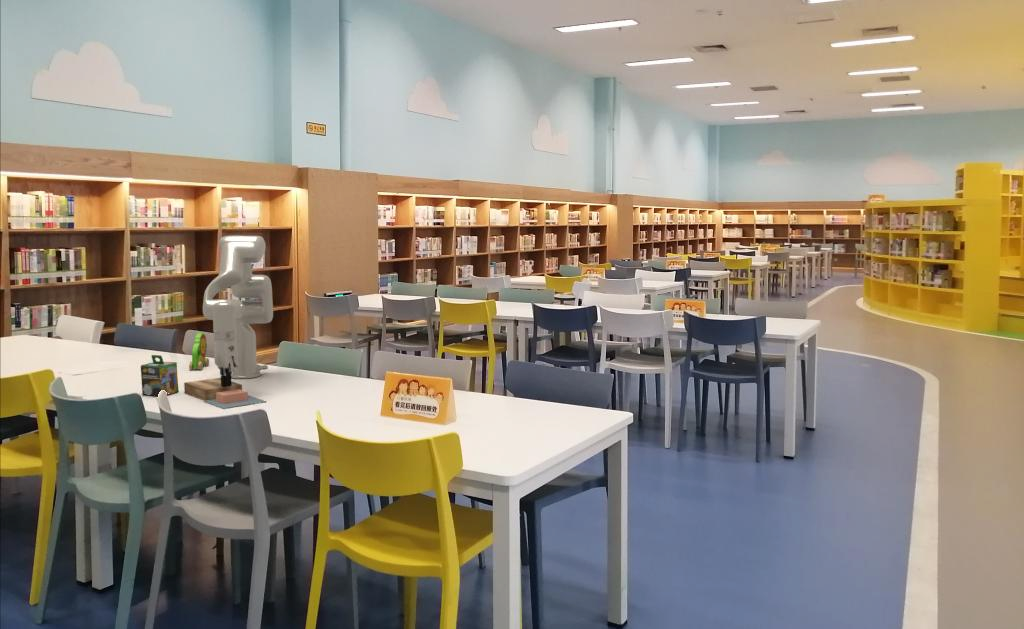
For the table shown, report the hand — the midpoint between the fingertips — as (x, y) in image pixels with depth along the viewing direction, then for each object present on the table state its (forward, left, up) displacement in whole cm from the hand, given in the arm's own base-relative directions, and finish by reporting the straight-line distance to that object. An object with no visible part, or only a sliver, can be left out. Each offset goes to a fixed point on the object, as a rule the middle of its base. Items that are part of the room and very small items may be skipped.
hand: (226, 386), depth 288 cm
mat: (0, +6, -5) cm, 8 cm away
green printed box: (+14, -25, -5) cm, 29 cm away
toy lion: (-20, -68, -5) cm, 71 cm away
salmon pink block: (0, +5, -1) cm, 5 cm away
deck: (0, -11, -5) cm, 12 cm away
